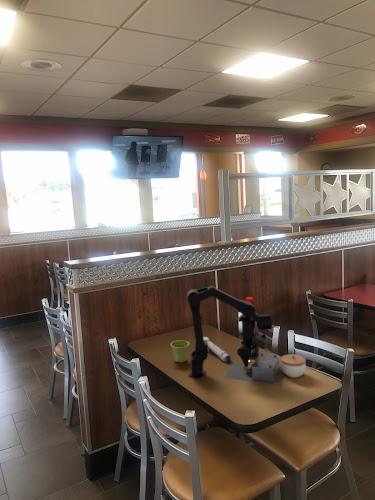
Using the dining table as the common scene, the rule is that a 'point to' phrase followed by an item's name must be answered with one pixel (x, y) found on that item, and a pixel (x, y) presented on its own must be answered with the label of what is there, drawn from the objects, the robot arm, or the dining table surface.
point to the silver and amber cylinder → (249, 365)
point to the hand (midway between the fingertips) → (248, 362)
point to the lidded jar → (293, 365)
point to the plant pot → (180, 350)
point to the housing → (265, 367)
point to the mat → (242, 373)
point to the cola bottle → (250, 299)
